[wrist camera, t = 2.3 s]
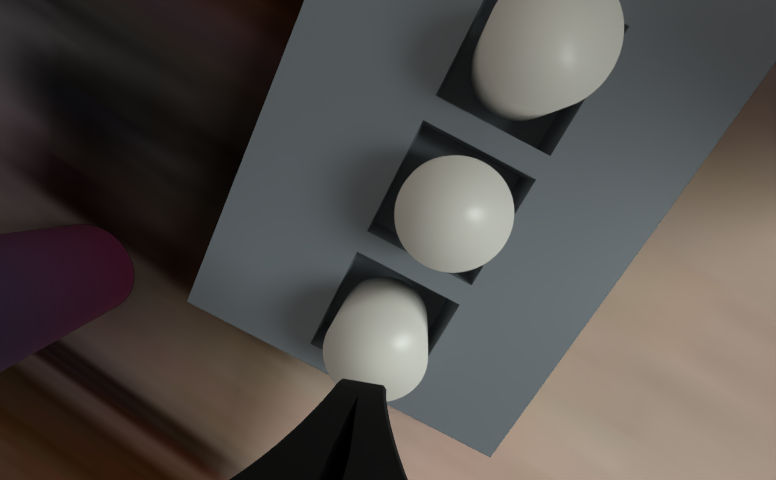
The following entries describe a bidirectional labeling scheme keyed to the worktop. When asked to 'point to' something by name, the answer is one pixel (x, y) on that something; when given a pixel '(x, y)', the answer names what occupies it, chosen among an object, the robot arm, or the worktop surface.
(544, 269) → the board
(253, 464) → the robot arm
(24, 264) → the cup
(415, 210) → the button
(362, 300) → the button
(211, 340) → the worktop surface
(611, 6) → the button
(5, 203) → the worktop surface
